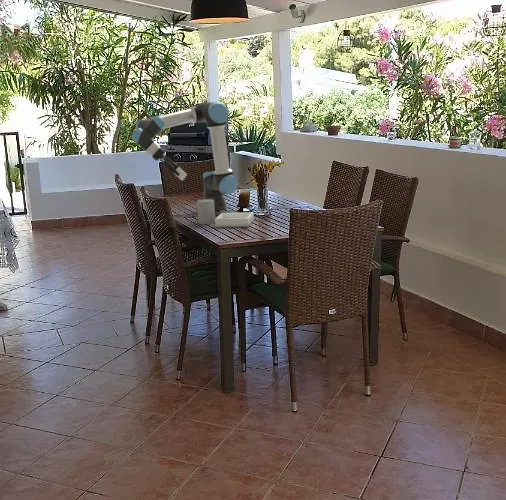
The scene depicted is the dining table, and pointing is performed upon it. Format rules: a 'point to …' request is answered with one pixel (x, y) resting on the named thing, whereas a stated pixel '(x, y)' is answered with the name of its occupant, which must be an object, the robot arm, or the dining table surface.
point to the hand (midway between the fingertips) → (184, 177)
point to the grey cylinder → (206, 211)
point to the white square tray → (234, 219)
